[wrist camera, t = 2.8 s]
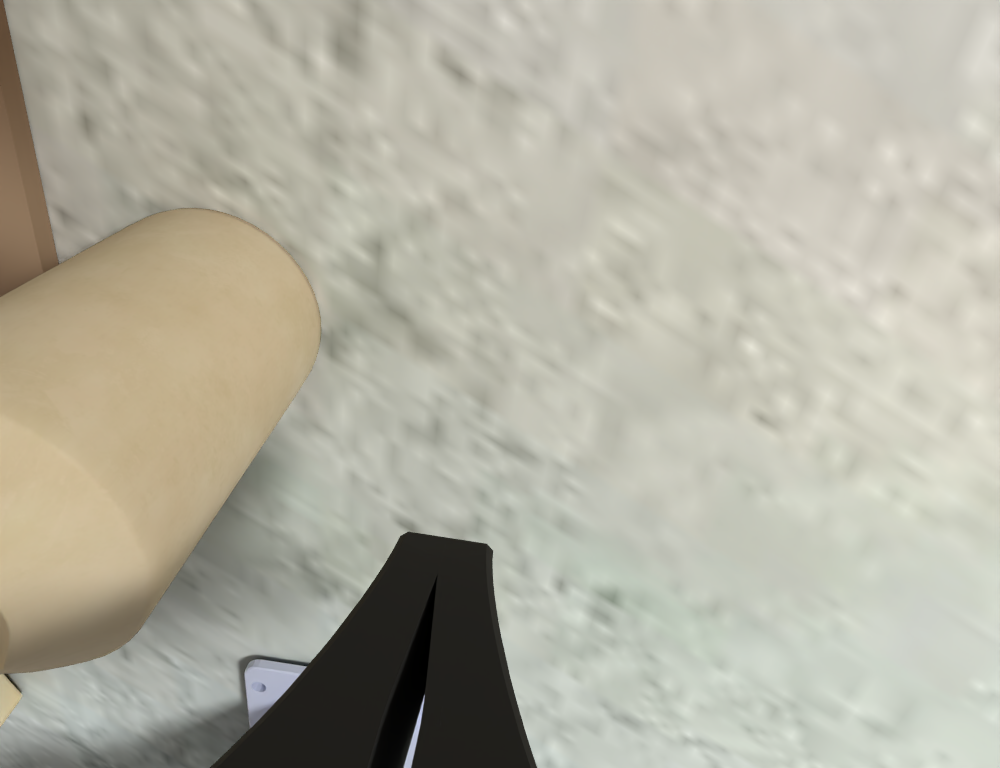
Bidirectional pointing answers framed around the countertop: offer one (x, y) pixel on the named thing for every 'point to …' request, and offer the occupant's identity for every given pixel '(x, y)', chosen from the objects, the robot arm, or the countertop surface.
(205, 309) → the candle
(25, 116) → the walnut board
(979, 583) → the countertop surface
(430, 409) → the countertop surface
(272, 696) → the robot arm
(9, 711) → the coffeecake box
